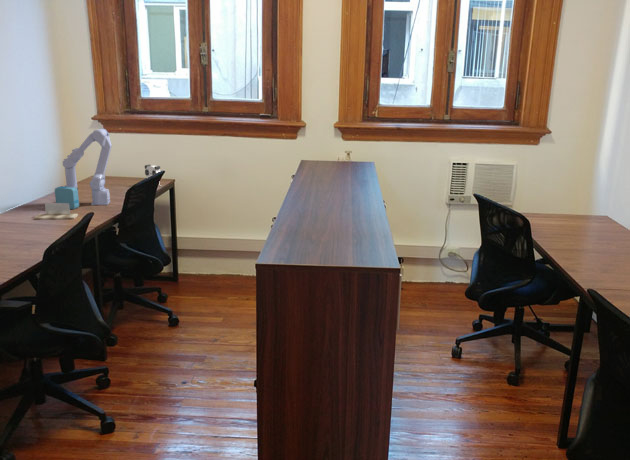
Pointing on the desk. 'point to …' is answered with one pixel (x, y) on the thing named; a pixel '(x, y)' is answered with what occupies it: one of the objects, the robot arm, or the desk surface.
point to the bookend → (56, 212)
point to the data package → (67, 196)
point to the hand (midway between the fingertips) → (73, 200)
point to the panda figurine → (151, 170)
